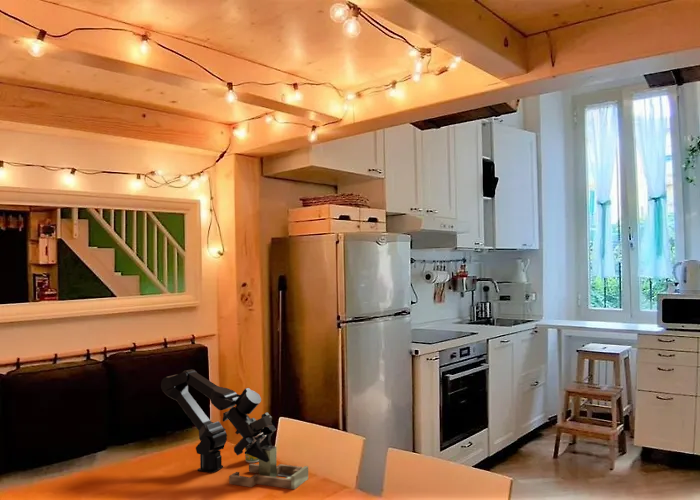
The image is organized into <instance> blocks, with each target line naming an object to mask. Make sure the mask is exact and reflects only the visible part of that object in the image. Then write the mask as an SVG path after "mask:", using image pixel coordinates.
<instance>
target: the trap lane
mask: <svg viewBox="0 0 700 500" xmlns="http://www.w3.org/2000/svg"><path fill="white" fill-rule="evenodd" d="M276 469H277V477H271V476H264V475H259V463H256V464H255V463H249V464H248V472H249V473H254V475H252V476H251V477H250V476H242V475H240V471H235V472H234V473H232V474H230V475H229V476H228V484H229V485H236V486H242V487H248V488H252V487H254V486H256V485H262V486H269V487H275V488H284V489H290V490H296V489H297V488H298V487H300V486H301V485H302V484H303V483H305V482H306V481H307V480H309V466H308V465H304V466H303V467H302V466H298V465H290V464H283V463H280V464H278V465H276Z"/></svg>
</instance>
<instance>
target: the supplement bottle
mask: <svg viewBox="0 0 700 500" xmlns="http://www.w3.org/2000/svg"><path fill="white" fill-rule="evenodd" d="M246 451H247V450H246V448H244V455H245V456H244V457H245V462H246V463H249V464H255V463H257V462H258V463H259V459H258V458H256V457H254V456H251V455H248V454H245V452H246Z"/></svg>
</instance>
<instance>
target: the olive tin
mask: <svg viewBox="0 0 700 500" xmlns="http://www.w3.org/2000/svg"><path fill="white" fill-rule="evenodd" d="M261 448H262V450H263V451H264V453H265V454H266V456H267V457H268V459H269V461H268V462H264V461H262V460H260V459H259V461H258V465H259V473H258V475H264V476H271V477H278V476H277V469H276V466H277V447H276V446H275V445H272V446H269V445H265V446H263V447H261Z"/></svg>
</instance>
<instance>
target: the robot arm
mask: <svg viewBox="0 0 700 500" xmlns="http://www.w3.org/2000/svg"><path fill="white" fill-rule="evenodd" d="M160 382H161V383H160V388H161V391H162V392H163V393H164V394H165V396H167V397H168V398H170V399H173V400H175V401H176V402H177V404H178V405H179V406H180V407H181V408H182V410H183V412H184V413H185V414H186V415H187V417H188V418H189V419H190V421H191V422H192V424H193V425H194V426H195V427H196V429H197V430H198V439H199V440H200V442H199V443H198V444H197V445H196V446H195V451H196V454H197V455H200V457H199V459H200V460H199V461H200V465H199V466H200V467H199V468H197V471H198V472H203V473H204V472H205V473H210V474H211V473H212V474H214V473H216V472H217V471H219V470H221V469H222V468H224V465H222V463H223V461H222V455H221V450H224V448H225V446H226V443H227V439H228V438H227V437H228V435H227V432H226V430H227V429H226V428H224V427H223V425H222V424H221V422H220V421H214V422H212V421H211V420H210V418H209V417H208V416H207V414H206V413H205V412H204V411H203V409H202V408H201V406H200V405H199V404H198V403H197V400H195V399H194V397H193V396H192V395H191V393H190V392H189V386H190V387H192V388H193V389H195V390H197V391H198V392H200V393H201V394H202V395H205V397H207V398H209V400H210V404H211V405H213V406H214V407H215V409H217V410H218V411H224V410H227V411H225V412H223V413H222V422H226V421H227V420H228V421H229V422H230V423H231V425H232V426H233V427H234V428H235V430H236V431H235V432H234V433H235V434H236V435H240V436H241V437H242V438H241V439H240V440H239V441H238V442H237V443H236V445H234V447H233V452H234V453H235V454H236V456H239V455H242V453H243V454H244V455H245V454H248V455H251V456H254V457H256V458H258V459H260V460H262V461H264V462H268V461H269V459H268V457H267V456H266V454H265V453H264V451H263V450H262V448H261V447H263V446H265V445H269V446H273V445H272V442H271V441H272V440H271V439H272V438H271V437H272V435H273V434H274V432H275V431H276V430H277V428H276V426H275V425H274V424H273V423H272V421H273V416H271V414H269V412H268V411H267V412H264V413H263V414H261V417H260V418H258V419H256V418H255V417H250V416H249V415H250V414H252V413H253V411H254V410H255V409H256V408H257V407H258V406H259V404H260V403H261V402H262V398H261V396H260V394H259V393H258V392H256V391H254V390H252V389H250V387H247V388H244V389H243V390H242V392H241V393H240V394H239V393H237V392H236V391H235V390H232V389H230V388H227V387H223V386H218V385H217V384H215V383H214V382H212V381H210V380H209V379H207V378H206V377H204V376H203V375H201V374H199V373H198V372H197V371H196V370H195V369H188V370H184V371H181V372H180V373H177V374H172V375H169V376H165V377H163V378H162V379H161V381H160ZM228 409H229V410H228ZM245 448H246V450H247V451H246V452H245V451H244V450H245Z"/></svg>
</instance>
